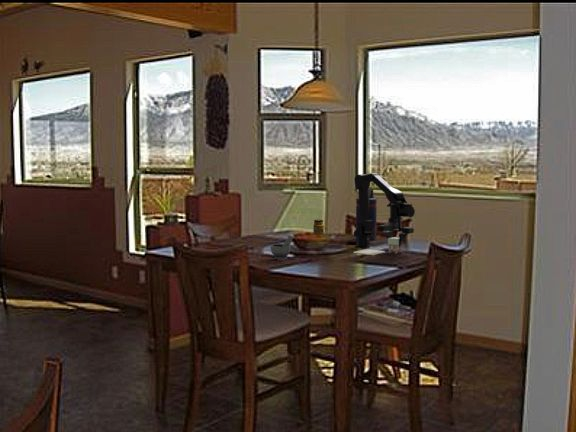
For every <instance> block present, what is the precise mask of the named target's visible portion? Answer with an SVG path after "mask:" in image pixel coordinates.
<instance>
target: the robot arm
mask: <svg viewBox="0 0 576 432" xmlns="http://www.w3.org/2000/svg"><path fill="white" fill-rule="evenodd" d="M353 180H354V186H355V188H356V189H357V191H358V194H359V196H358V198H359V207H360V219H359V221H358V227H357V229H356V228H355V230H354V231H353V236H354V237H355V238H356V239H355V242H356V243H355V245H354V248H361V249H368V248H371V244H370V241H371V240H370V239H369V236H371V234H372V231H373V227H374V224H373V223H374V221H373V220H371V219H370V217H369V204H368V189H370V187H371V183H373V184H374V185H375V186H377V187H378V189H380V191H382V192H383V193H384V195H385V197H386V199H387V201H388V202H389V203H388V204H387V205H386V206H387V208H388V207H389V217H388V220H387V222H385V223H384V224H380V225H378V226H377V232H382V234H384V235H385V236H386V238H387V240H388V238H392V237H393V233H394V232H399V233H398V238H399V245H398V247H399V246H401V245H403V244H404V243H403V242H404V241H405V238H406V237H407V235H409V234H414V233H415V229H414V227H413V226H412V227H411V226H404V227H403V225H402V220H403V218H413V216H415V213H416V211H415V208H414V206H413V204H412V203H408V202H407V200H406V198H405V196H404V193H403V192H402V191H400V190H399V189H397V188H394V187H392V186H391V185H390V184H389V183H388V182H387V181H386V180H385V179H383V177H381V176H380V175H379V173H377V172H371V173H367V174H366V173H364V174H360V173H359V174H356V175H355V177H354V179H353ZM402 243H403V244H402Z"/></svg>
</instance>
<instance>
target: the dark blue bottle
mask: <svg viewBox="0 0 576 432" xmlns="http://www.w3.org/2000/svg"><path fill="white" fill-rule="evenodd" d="M355 203H356V205H355V230H356V229H357V227H358V221H359V219H360V207H359V193H358V195H357V198H356V199H355ZM377 203H378V202H377V198H375V196H374V188H369V189H368V204H369V217H370V219H371V220H373V221H374V223H373V224H374V227H373V231H372V234H371V236H369V239H370V241H374V239H376V238H377V213H378V212H377Z"/></svg>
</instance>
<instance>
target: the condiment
mask: <svg viewBox="0 0 576 432" xmlns="http://www.w3.org/2000/svg"><path fill="white" fill-rule="evenodd" d="M312 229H313V230H312V231H313V233H314V234H325V230H324V229H325V225H324V219H314V220H313V228H312Z"/></svg>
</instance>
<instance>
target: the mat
mask: <svg viewBox="0 0 576 432" xmlns="http://www.w3.org/2000/svg"><path fill="white" fill-rule="evenodd" d="M353 253H354V254H359V255H360V254H361V255H367V256H376V255H379V254H385V253H386V250H378V249H370V248H369V249H368V248H363V249H361V250H356V251H353Z"/></svg>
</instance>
